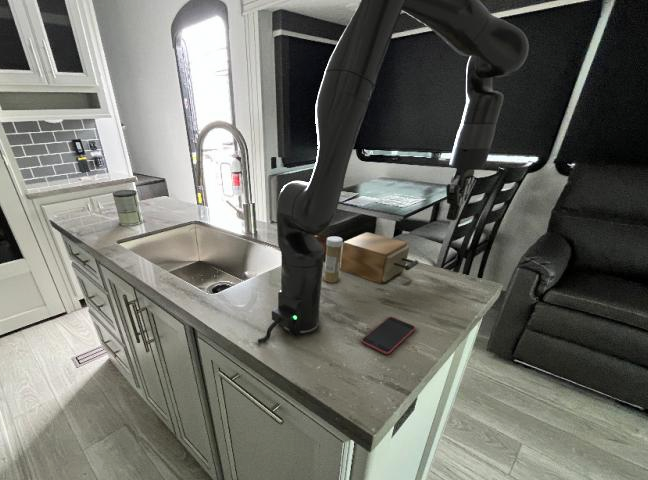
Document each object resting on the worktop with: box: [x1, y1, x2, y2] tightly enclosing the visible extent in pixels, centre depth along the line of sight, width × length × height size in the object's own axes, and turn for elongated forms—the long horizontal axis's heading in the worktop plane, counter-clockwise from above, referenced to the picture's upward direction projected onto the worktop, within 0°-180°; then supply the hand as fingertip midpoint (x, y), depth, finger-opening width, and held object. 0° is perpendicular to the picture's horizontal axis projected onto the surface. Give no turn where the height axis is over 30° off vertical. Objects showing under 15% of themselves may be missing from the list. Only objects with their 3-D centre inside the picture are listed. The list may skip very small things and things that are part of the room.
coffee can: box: [112, 189, 144, 227], centre depth 150 cm, size 10×10×14 cm
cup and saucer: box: [315, 235, 331, 260], centre depth 116 cm, size 12×12×6 cm
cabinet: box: [339, 231, 408, 285], centre depth 104 cm, size 15×14×10 cm
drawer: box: [382, 245, 419, 283], centre depth 101 cm, size 18×12×8 cm
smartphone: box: [361, 316, 416, 355], centre depth 75 cm, size 7×1×14 cm
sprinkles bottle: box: [323, 236, 344, 283], centre depth 97 cm, size 5×5×14 cm
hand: (451, 219), depth 83 cm, fingers closed
